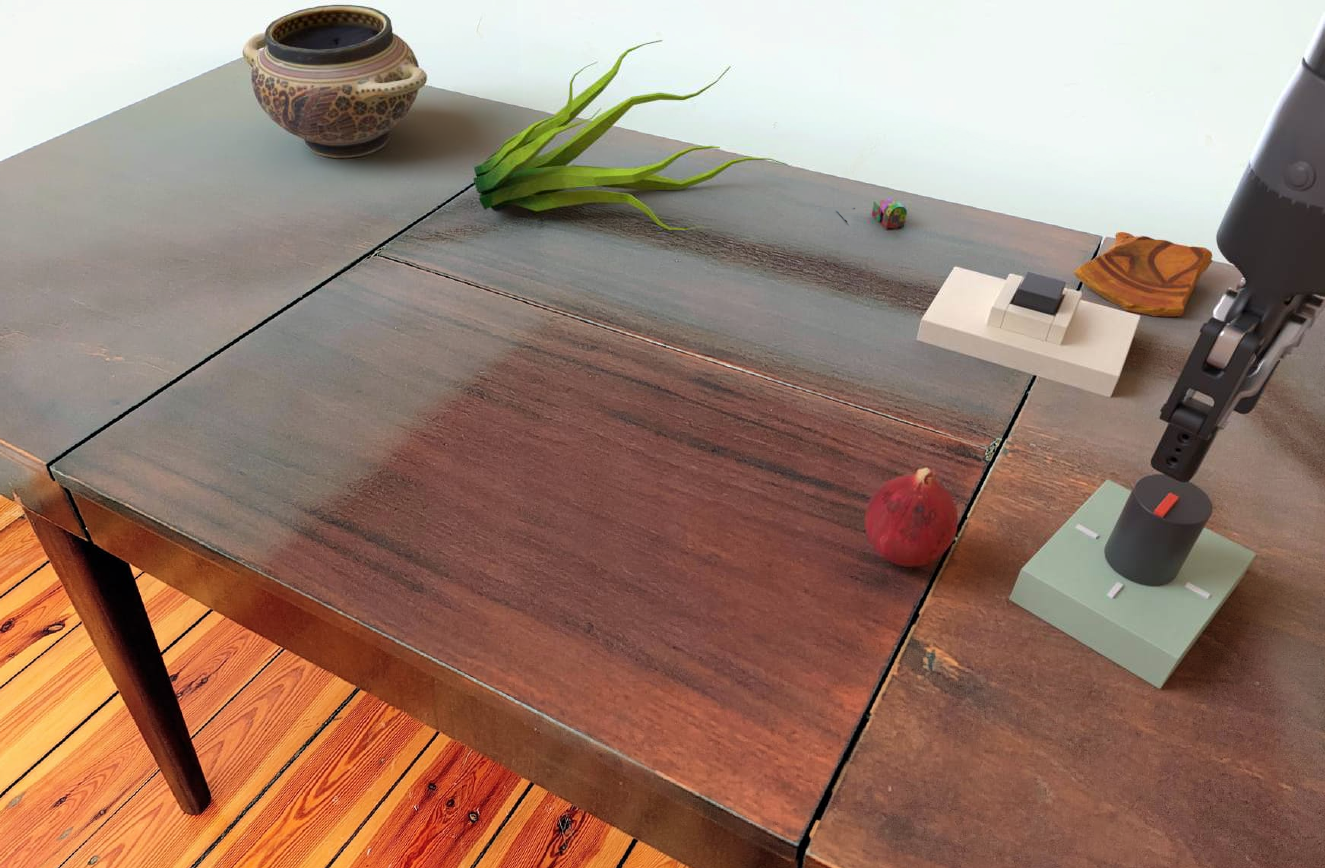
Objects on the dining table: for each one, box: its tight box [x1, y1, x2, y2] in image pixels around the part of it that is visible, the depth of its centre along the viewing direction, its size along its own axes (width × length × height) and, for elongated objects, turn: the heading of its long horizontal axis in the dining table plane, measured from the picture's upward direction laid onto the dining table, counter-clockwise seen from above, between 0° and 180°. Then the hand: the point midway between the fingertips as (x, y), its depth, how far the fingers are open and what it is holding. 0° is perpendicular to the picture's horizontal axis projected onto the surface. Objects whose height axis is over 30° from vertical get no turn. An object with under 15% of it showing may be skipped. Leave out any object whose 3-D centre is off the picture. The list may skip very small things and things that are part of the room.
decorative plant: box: [473, 39, 789, 231], centre depth 103 cm, size 18×30×15 cm, turn 73°
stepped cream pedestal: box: [916, 266, 1142, 398], centre depth 88 cm, size 10×16×4 cm, turn 60°
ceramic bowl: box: [242, 4, 428, 159], centre depth 114 cm, size 24×18×15 cm
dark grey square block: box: [1013, 271, 1067, 316], centre depth 86 cm, size 3×3×2 cm
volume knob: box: [1104, 473, 1214, 586], centre depth 64 cm, size 4×4×6 cm
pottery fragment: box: [1073, 231, 1213, 317], centre depth 94 cm, size 10×5×10 cm
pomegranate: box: [864, 466, 959, 568], centre depth 67 cm, size 6×6×8 cm
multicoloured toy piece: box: [871, 198, 908, 230], centre depth 104 cm, size 4×3×2 cm, turn 14°
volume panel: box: [1008, 479, 1258, 690], centre depth 67 cm, size 12×10×3 cm
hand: (1201, 437), depth 59 cm, fingers open, 8 cm apart
